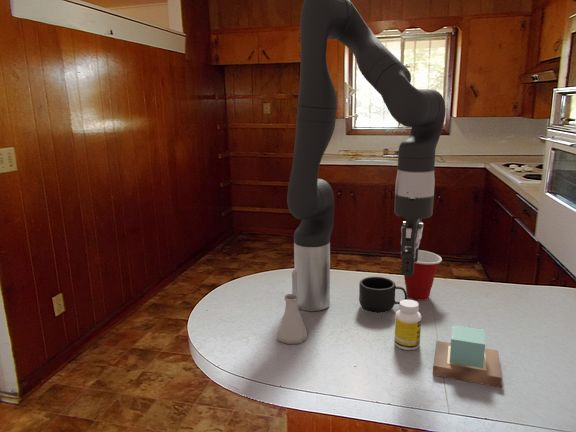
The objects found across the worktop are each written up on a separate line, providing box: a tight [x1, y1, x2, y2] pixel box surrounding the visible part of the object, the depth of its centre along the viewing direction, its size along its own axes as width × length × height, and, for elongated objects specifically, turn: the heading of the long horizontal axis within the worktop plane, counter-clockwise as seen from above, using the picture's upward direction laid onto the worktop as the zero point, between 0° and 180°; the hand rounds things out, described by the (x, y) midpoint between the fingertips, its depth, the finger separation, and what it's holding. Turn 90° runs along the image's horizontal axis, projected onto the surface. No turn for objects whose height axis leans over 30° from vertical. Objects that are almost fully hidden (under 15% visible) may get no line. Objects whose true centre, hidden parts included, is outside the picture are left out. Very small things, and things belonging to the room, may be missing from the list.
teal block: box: [450, 324, 486, 368], centre depth 88 cm, size 6×6×5 cm
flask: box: [276, 293, 308, 345], centre depth 101 cm, size 7×7×10 cm
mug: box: [358, 276, 408, 314], centre depth 114 cm, size 12×9×7 cm
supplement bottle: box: [393, 299, 422, 351], centre depth 97 cm, size 5×5×10 cm
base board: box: [432, 340, 503, 388], centre depth 89 cm, size 12×10×2 cm
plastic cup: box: [400, 249, 443, 301], centre depth 121 cm, size 11×11×12 cm
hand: (409, 268), depth 94 cm, fingers open, 8 cm apart
